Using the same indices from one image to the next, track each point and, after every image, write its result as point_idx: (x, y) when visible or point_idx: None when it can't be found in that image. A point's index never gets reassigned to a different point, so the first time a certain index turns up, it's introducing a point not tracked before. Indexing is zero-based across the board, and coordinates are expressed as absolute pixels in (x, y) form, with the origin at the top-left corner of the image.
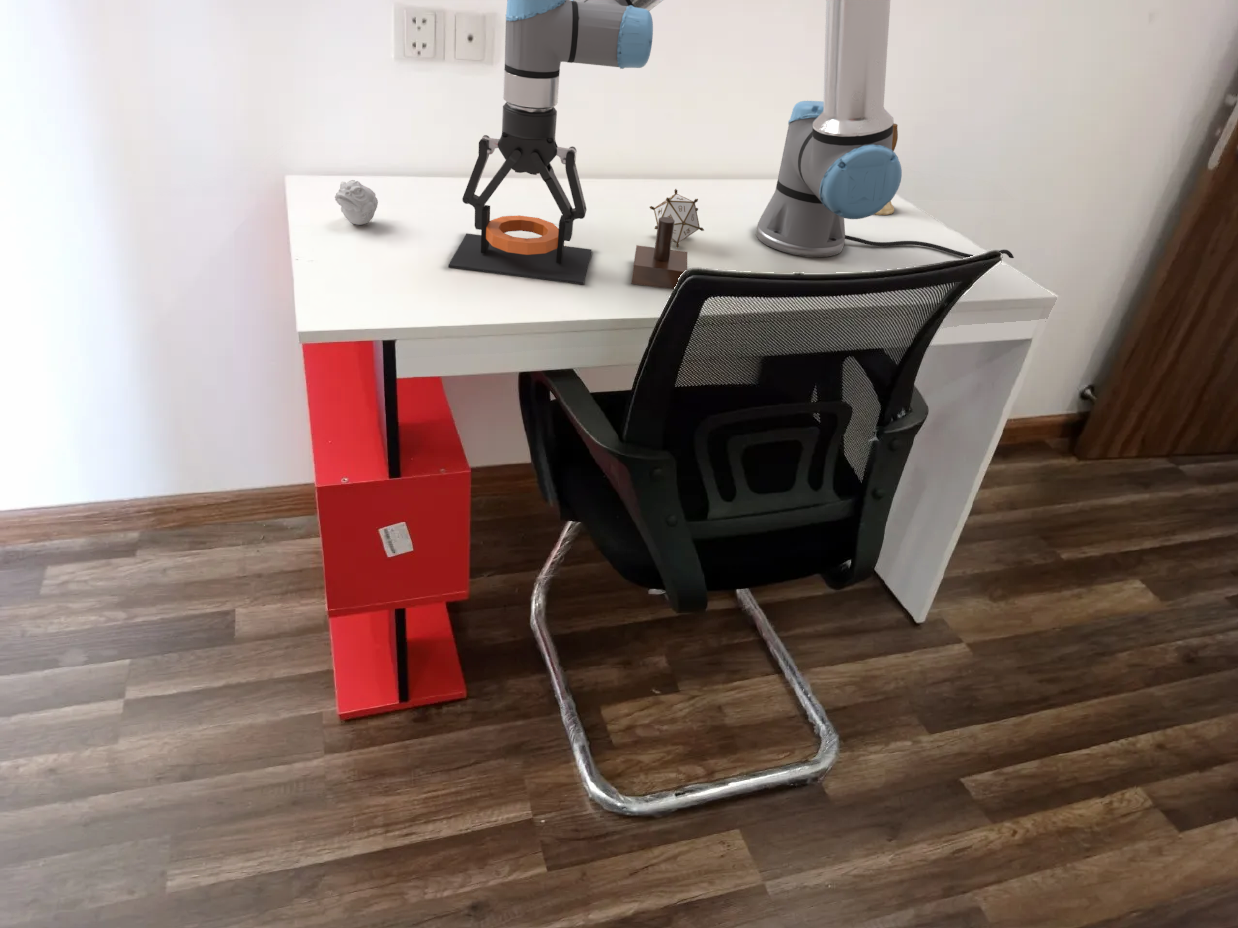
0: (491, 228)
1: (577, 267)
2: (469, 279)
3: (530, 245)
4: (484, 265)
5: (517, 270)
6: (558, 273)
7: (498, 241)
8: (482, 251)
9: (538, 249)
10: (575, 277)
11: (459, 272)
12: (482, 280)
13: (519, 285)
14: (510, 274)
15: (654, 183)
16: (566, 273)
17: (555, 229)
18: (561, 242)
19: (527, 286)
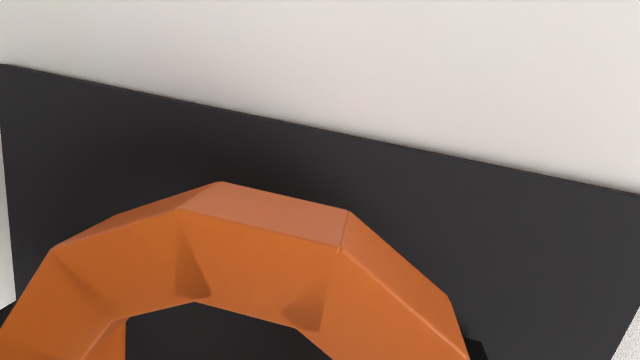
0: None
1: (43, 223)
2: (577, 53)
3: (166, 206)
4: (473, 214)
5: (302, 167)
6: (110, 151)
7: (416, 292)
8: (475, 346)
9: (135, 213)
10: (34, 114)
11: (622, 145)
12: (499, 50)
13: (295, 10)
14: (339, 133)
15: None
16: (77, 154)
17: None
18: (10, 310)
19: (254, 3)
